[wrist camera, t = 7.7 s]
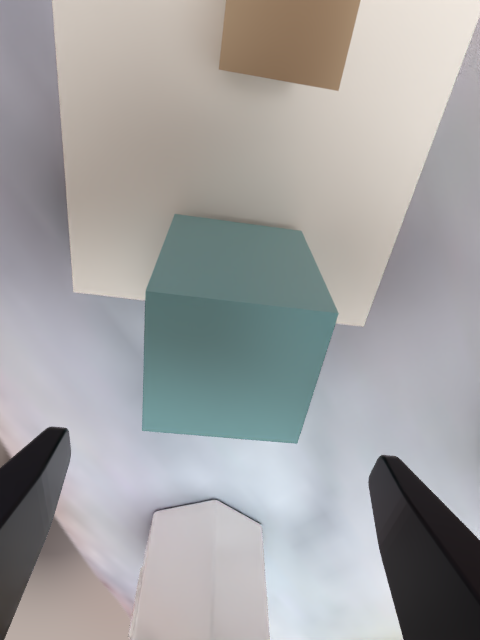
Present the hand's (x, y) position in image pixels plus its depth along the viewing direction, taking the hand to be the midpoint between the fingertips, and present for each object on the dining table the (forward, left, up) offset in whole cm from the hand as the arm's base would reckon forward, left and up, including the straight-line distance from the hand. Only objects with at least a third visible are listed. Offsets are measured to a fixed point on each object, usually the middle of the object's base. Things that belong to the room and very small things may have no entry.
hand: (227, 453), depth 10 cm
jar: (-1, +22, -11) cm, 24 cm away
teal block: (0, 0, -9) cm, 9 cm away
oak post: (0, -9, -10) cm, 14 cm away
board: (0, -4, -10) cm, 11 cm away
